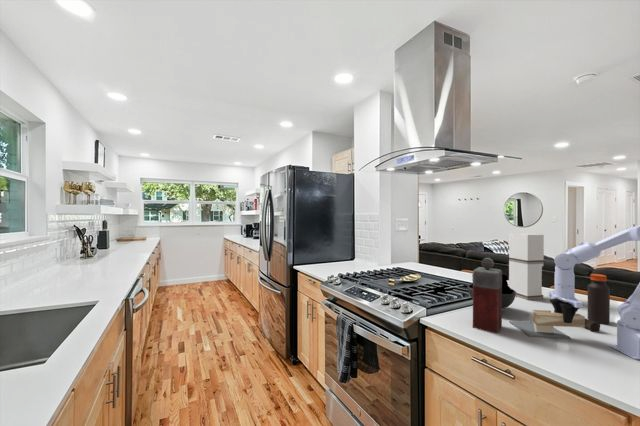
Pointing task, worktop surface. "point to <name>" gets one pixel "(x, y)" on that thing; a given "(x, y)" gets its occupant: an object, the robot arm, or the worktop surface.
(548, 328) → the tile
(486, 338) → the worktop surface
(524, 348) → the worktop surface
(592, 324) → the brown wooden log
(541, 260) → the banded white pillar
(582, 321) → the tan wooden plank
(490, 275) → the pepper grinder
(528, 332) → the mat
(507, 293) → the bowl of black rocks
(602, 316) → the bottle
